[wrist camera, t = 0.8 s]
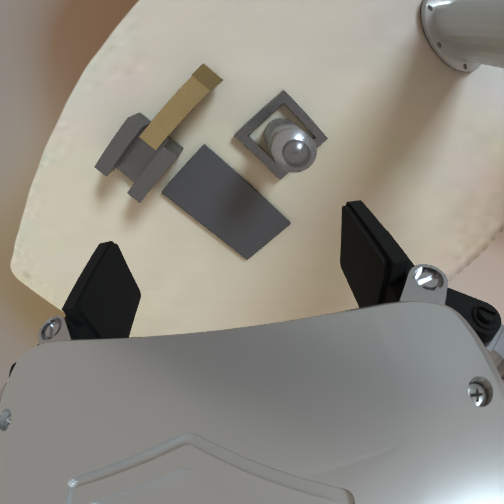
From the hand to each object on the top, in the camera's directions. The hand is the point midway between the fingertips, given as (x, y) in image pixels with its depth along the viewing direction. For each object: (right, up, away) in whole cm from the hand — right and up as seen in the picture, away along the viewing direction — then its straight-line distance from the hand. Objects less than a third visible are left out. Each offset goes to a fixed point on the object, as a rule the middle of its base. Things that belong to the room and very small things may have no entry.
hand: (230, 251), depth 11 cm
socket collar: (+4, +13, +19) cm, 24 cm away
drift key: (-7, +16, +15) cm, 23 cm away
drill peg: (+4, +13, +19) cm, 24 cm away
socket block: (-12, +12, +19) cm, 26 cm away
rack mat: (-2, +6, +24) cm, 25 cm away
